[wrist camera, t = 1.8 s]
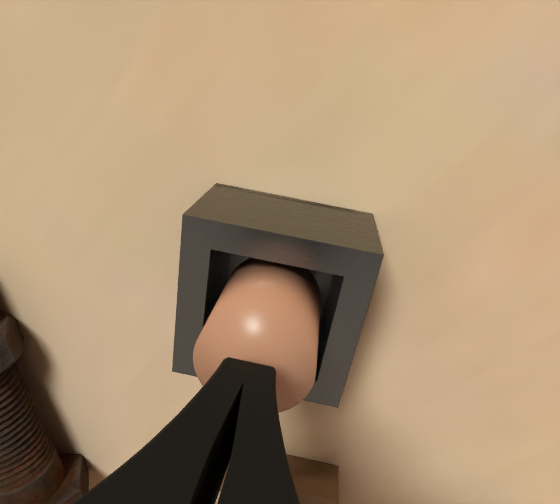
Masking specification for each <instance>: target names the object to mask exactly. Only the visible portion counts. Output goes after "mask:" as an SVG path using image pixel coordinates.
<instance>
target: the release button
mask: <svg viewBox="0 0 560 504" xmlns="http://www.w3.org/2000/svg"><path fill="white" fill-rule="evenodd" d="M320 304H321V295H320V289H319V286H318V284H317V281H316V279H315V278H314V276H313V275H312V274H311V272H310V271H309V270H308V269H305V268H300V267H295V266H290V265H285V264H281V263H276V262H271V261H266V260H261V259H256V258H249V259H247V260H245V261H243V262H242V263H241V264H239V265H238V266H237V267H236V268H235V270H234V271H233V272H232V274H231V276H230V277H229V279H228V281H227V283H226V285H225V287H224V289H223V291H222V293H221V295H220V297H219V299H218V301H217V302H216V304H215V306H214V308H213V310H212V312H211V314H210V316H209V318H208V320H207V322H206V324H205V326H204V328H203V329H202V331H201V333H200V335H199V337H198V339H197V341H196V344H195V347H194V351H193V364H194V369H195V372H196V374H197V377H198V379H199V381H200V382H201V384H202V385H203V386H204V385H205V384H206V382H207V381H208V380H209V379H210V377H211V376H212V375H213V374H214V372H215V371H216V370H217V368H218V367H219V365H220V364H221V362H222V361H223V359H225V358H227V357H230V358H235V359H240V360H244V361H249V362H254V363H258V364H263V365H268V366H272V367H274V368H275V370H276V371H277V372H276V398H277V408H278V412H282V411H285V410H287V409H290V408H292V407H294V406H295V405H297V404H298V403H300V402H301V401H302V400H303V399H304V398H305V397H306V396H307V395H308V393H309V392H310V390H311V388H312V387H313V384H314V381H315V376H316V365H317V350H318V335H319V320H320Z"/></svg>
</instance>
